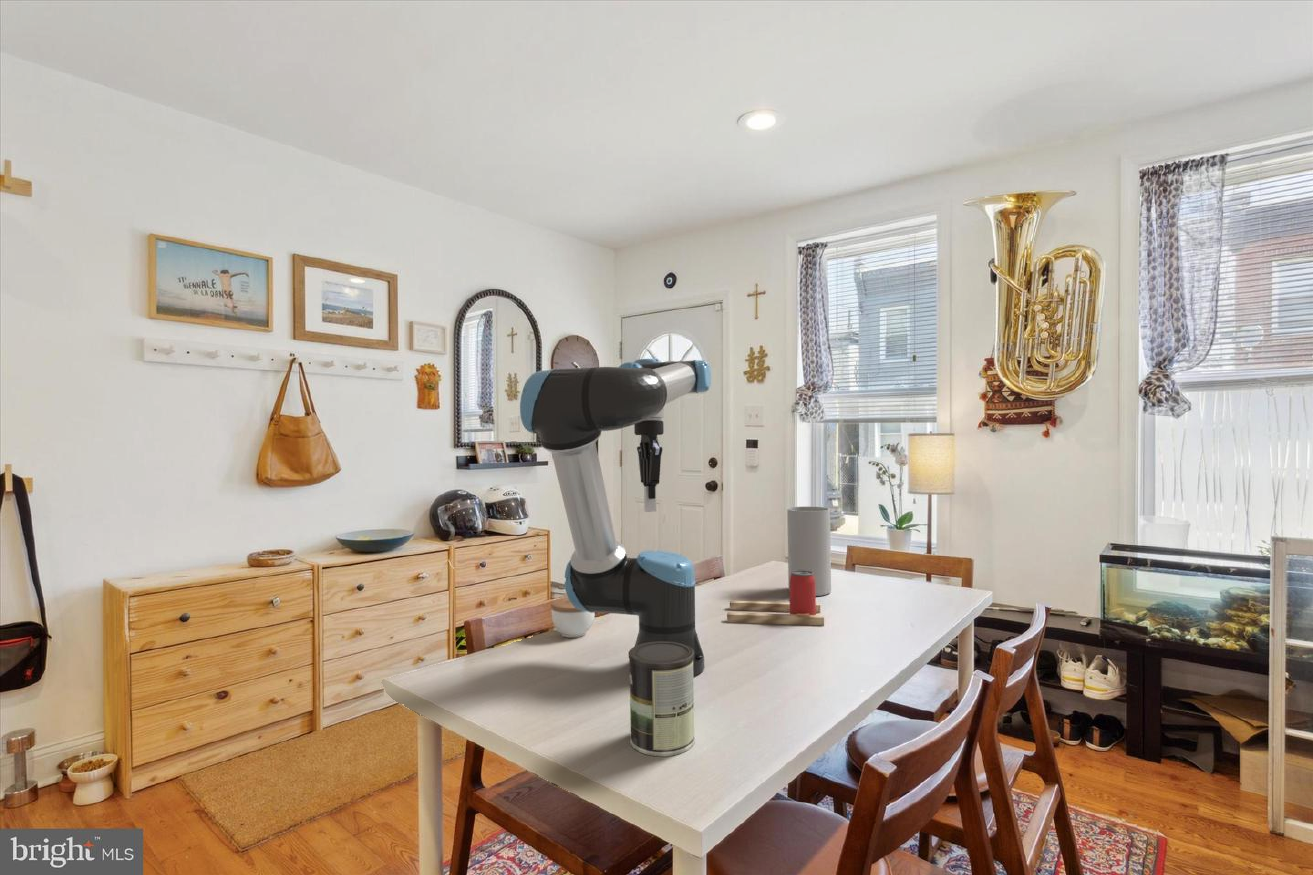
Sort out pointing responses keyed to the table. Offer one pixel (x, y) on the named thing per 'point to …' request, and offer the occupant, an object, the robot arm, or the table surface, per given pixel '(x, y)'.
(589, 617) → the lidded jar
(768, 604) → the channel
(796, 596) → the beer can
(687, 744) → the coffee can
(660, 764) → the table surface
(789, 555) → the cylinder vase
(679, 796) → the table surface
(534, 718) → the table surface
